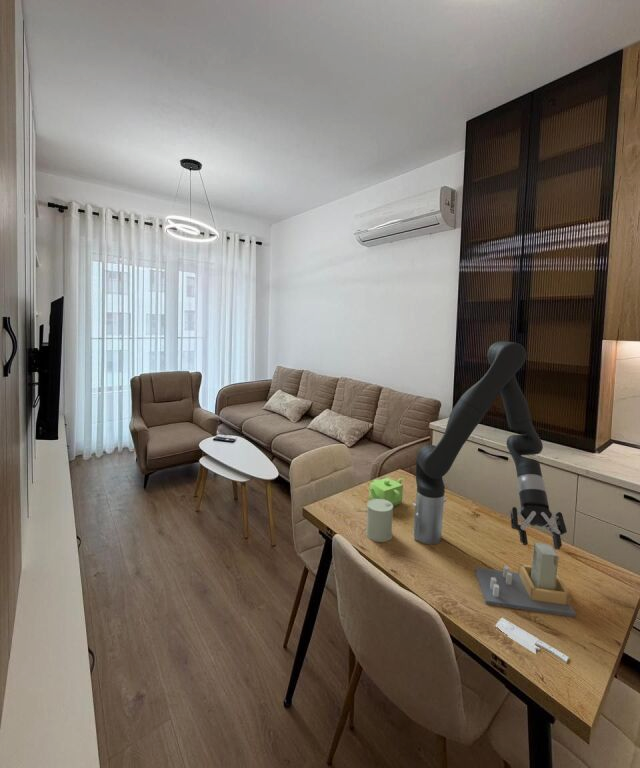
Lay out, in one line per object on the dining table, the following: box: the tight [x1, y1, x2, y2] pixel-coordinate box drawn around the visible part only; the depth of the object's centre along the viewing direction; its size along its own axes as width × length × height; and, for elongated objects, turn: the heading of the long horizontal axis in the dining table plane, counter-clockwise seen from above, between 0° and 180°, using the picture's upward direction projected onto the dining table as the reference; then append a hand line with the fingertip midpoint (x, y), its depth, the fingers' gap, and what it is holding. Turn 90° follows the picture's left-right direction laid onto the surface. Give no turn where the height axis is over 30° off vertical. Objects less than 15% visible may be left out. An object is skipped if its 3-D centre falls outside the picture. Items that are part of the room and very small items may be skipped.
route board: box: [474, 563, 577, 618], centre depth 105 cm, size 22×14×4 cm, turn 79°
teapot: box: [367, 477, 405, 507], centre depth 153 cm, size 15×13×11 cm
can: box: [365, 499, 394, 543], centre depth 131 cm, size 9×9×12 cm
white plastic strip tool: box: [494, 617, 570, 664], centre depth 88 cm, size 5×15×1 cm, turn 41°
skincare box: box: [531, 541, 560, 591], centre depth 104 cm, size 6×4×12 cm
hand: (541, 546), depth 107 cm, fingers open, 8 cm apart
